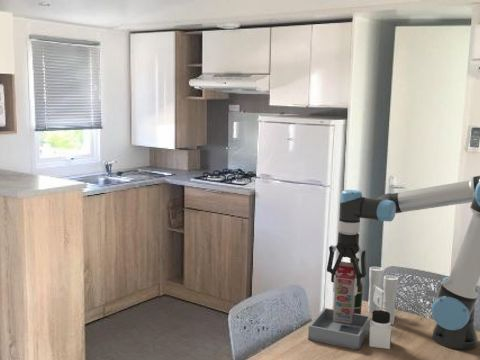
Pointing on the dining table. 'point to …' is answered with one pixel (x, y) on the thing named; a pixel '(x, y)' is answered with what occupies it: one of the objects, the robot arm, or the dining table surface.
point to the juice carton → (344, 293)
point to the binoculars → (382, 292)
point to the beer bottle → (358, 297)
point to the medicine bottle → (380, 329)
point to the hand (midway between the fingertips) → (345, 292)
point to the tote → (339, 330)
